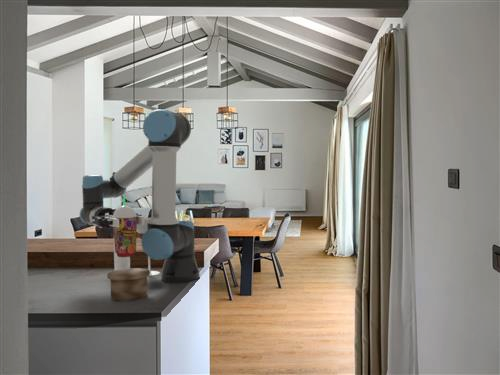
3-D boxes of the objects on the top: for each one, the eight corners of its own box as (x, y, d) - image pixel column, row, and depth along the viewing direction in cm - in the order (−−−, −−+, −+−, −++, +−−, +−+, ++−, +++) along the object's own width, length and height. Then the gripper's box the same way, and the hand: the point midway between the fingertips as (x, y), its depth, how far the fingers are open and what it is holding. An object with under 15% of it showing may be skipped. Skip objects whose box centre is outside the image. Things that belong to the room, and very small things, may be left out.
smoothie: (124, 259, 147) (122, 198, 146) (107, 256, 152) (105, 198, 151) (143, 254, 154) (141, 196, 153) (127, 252, 159) (125, 196, 158)
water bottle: (112, 272, 190) (110, 214, 189) (126, 270, 194) (124, 213, 193) (120, 276, 183) (118, 215, 182) (135, 273, 187) (133, 214, 186)
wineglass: (156, 276, 182) (154, 220, 181) (133, 275, 184) (131, 219, 183) (164, 271, 191) (163, 217, 190) (143, 270, 193) (141, 217, 192)
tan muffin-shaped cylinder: (146, 288, 163) (146, 266, 162) (153, 298, 150) (152, 274, 149) (106, 293, 157) (105, 270, 157) (109, 303, 144) (108, 279, 144)
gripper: (130, 224, 173) (159, 229, 156) (75, 230, 159) (100, 236, 142) (129, 205, 173) (158, 208, 156) (74, 209, 159) (99, 213, 142)
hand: (131, 221), depth 149 cm, fingers closed on smoothie, 8 cm apart
